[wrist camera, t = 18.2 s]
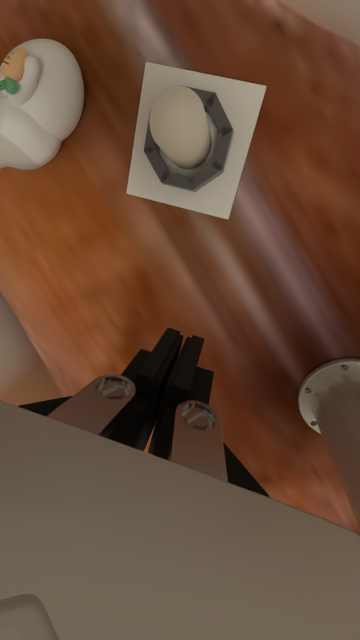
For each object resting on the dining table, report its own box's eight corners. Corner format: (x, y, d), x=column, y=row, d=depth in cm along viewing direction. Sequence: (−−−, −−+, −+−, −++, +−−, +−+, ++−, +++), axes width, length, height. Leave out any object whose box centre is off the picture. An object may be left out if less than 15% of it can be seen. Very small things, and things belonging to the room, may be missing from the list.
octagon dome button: (265, 90, 28) (268, 76, 25) (228, 219, 33) (227, 219, 30) (148, 67, 29) (140, 51, 27) (129, 194, 34) (120, 191, 31)
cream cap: (218, 125, 29) (213, 94, 22) (203, 175, 31) (194, 160, 24) (175, 113, 29) (157, 78, 23) (162, 163, 31) (143, 144, 24)
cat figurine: (22, -15, 21) (-66, 141, 25) (104, 85, 26) (20, 203, 30) (39, 20, 29) (-31, 136, 33) (101, 92, 33) (33, 187, 37)
